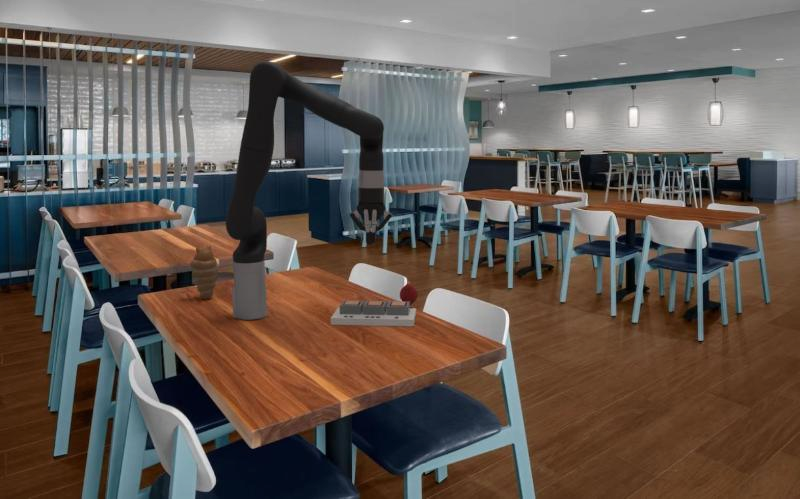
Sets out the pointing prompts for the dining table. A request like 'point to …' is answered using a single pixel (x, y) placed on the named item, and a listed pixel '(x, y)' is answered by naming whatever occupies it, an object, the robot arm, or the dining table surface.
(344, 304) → the button two
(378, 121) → the robot arm
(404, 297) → the onion
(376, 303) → the button three
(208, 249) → the cat ice cream
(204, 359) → the dining table surface
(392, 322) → the button panel
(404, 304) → the button one
